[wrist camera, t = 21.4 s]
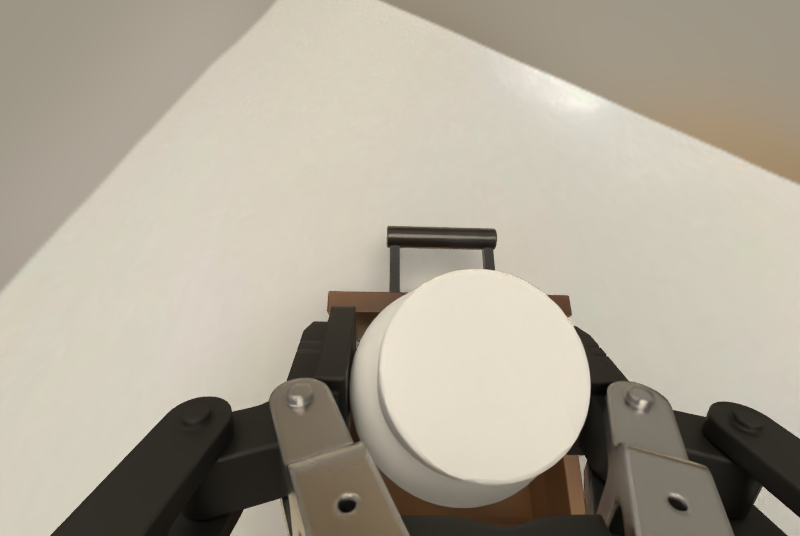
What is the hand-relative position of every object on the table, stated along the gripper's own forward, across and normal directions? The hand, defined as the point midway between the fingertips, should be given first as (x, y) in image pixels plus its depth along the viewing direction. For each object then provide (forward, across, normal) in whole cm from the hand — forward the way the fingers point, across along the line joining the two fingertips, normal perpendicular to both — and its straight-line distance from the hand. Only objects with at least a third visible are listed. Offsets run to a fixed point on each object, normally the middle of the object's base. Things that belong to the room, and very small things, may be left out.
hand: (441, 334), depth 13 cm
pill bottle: (+2, 0, +5) cm, 5 cm away
